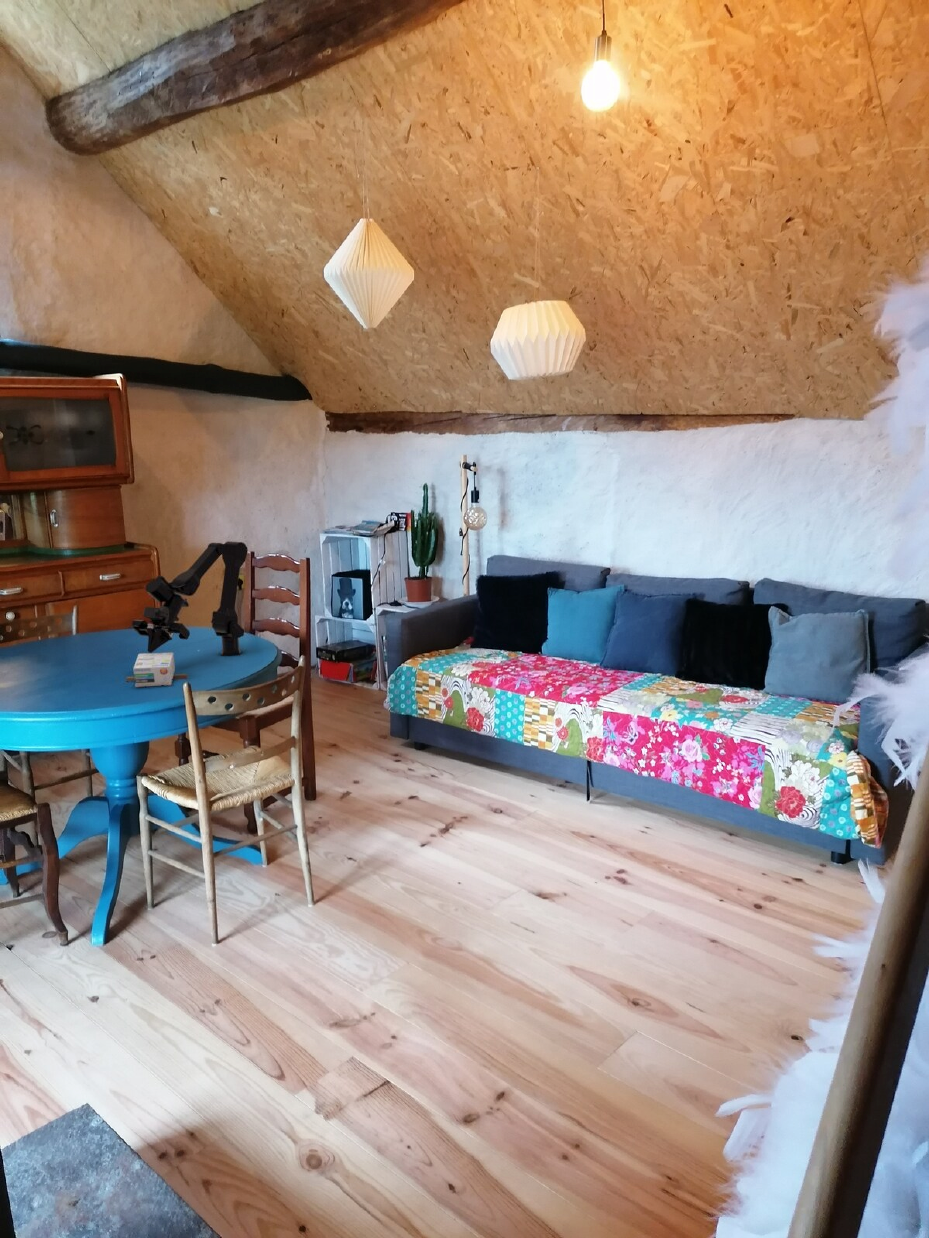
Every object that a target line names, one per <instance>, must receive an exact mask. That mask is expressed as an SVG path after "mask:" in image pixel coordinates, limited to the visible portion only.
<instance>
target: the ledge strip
mask: <svg viewBox="0 0 929 1238" xmlns="http://www.w3.org/2000/svg"><path fill="white" fill-rule="evenodd" d="M188 677H189V675H188V673H178V674H177V673H176V674H175V673H174V675H173V680H187V679H188ZM126 681H135V677H134V676H126V678H125V682H126Z"/></svg>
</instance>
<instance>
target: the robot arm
mask: <svg viewBox="0 0 929 1238" xmlns="http://www.w3.org/2000/svg"><path fill="white" fill-rule="evenodd" d="M247 556H248V546H247V545H246V544H245V543H244V542H242V541H230V540H229V541H225V543H222V542H211V543H209V544H208V545H207V548H205V550H204V551H203V552H202V553H201V555H200V556H199V557H198V558H197V559H196V561H194V563H193V564H192V565H191V566H190V567H189V568H188V569H187V570H186V571H184V572H182V573H180V574H178V575H177V576H175V578H173V579H172V581H170V582H168V580H166V578H165V577H164V576H163V575H157V577H156V578H154V579H152V580H150V581H149V582H147V583H146V586H145V591H146V592H147V593H148V595H149V596H151V597H152V598H154V600H155V601H156V602H158V603H162V605H160V606H159V607H151V606H144V609H143V614H142V617H143V618H147V619H149V620H148V621H149V622H150V623H149V622H147V621H146V620H145V619H134V620H132V622H131V625H130V627H131V628H132V629H133V630H134V631H135V632H136V633H137V634H138V635H139V636H141V637H147V639H148V640H147V641H148V642H147V652H148V653H154V652H155V651H156V650H157V649H159V648H161V647H162V646H163V645H164V644H166V643H168V642H169V641H172V640H173V638H172V636H173V635H174V634H178V637H179V638H178V639H180V640H188V639H189V637H190V635H191V633H190V630H189V628H188V627H187V626H185V624H184V623H183V622H179V620H180V618H179V617H178V616H179V614H180V611H181V610H182V608H188V607H189V606H190V604H189V602H188V598H183V597H182V596H184V597H185V596H186V597H192V596H194V595H195V594H196V592H197V591H198V589H199V587H200V585H201V580H202V578H203V577H204V575H205V574H206V573H207V572H208V571H209V570H210V569H211V567H212V566H213V565H214V563H216V562H217V561H218V559H219V558H220V557H221V558H222V562H223V564H224V567H225V568H224V574H223V581H222V590H221V597H220V603H219V608H218V609H217V610H216V611H215V610H213V611H212V614H211V615H212V618H211V621H210V623H211V627H212V628H211V629H213V630H214V632H215V635H216V637H221V647H222V648H221V652H220V656H233V655H234V656H237V655H240V654H241V652H242V649H241V648H240V640H239V638H242V637H244V635H245V629H244V628H243V627H242V626H241V625H240V624H239V616H238V614H237V611H236V600H237V593H238V586H239V578H240V570H241V567H242V566H243V565H244V563H245V562H246V560H247Z"/></svg>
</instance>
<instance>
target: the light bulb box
mask: <svg viewBox="0 0 929 1238" xmlns="http://www.w3.org/2000/svg"><path fill="white" fill-rule="evenodd" d="M174 655H175V654H174V652H156V653H155V652H152V653H149V652H148V653H138V655H137V658H136V661H135V662H134V663H135V664H134V666H133V669H132V670H133V675H134V676H133V677H135V682H134V684H135V688H144V687H145V686H146V687H157V686H158V687H159V686H160V687H161V685H164V686H171V685H172V683H173V680H174V679H173V675H174V674H175V670H176V667H175V666H176V665H175V656H174ZM172 679H173V680H172Z"/></svg>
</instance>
